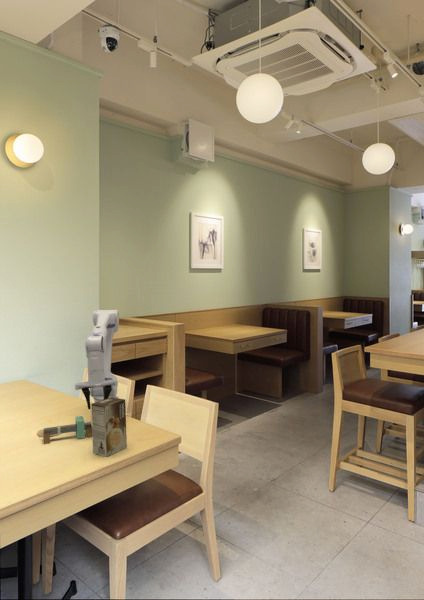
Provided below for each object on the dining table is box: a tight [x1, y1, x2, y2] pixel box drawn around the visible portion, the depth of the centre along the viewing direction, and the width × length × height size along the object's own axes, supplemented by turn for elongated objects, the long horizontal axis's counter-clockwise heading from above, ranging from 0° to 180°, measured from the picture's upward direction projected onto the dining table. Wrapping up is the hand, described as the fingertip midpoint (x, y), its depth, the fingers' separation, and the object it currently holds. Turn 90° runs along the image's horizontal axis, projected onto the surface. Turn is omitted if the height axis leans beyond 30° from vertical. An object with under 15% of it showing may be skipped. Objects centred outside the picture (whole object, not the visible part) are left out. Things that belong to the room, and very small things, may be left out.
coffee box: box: [90, 397, 128, 458], centre depth 138 cm, size 9×6×16 cm
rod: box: [42, 421, 93, 445], centre depth 150 cm, size 16×5×4 cm, turn 113°
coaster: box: [36, 428, 61, 438], centre depth 155 cm, size 9×9×1 cm
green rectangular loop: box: [75, 415, 86, 440], centre depth 151 cm, size 2×6×6 cm, turn 23°
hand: (97, 407), depth 153 cm, fingers open, 5 cm apart
